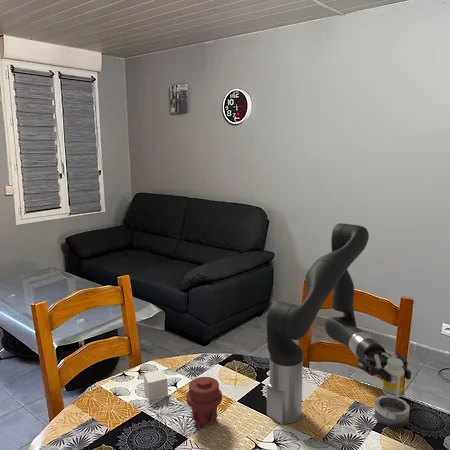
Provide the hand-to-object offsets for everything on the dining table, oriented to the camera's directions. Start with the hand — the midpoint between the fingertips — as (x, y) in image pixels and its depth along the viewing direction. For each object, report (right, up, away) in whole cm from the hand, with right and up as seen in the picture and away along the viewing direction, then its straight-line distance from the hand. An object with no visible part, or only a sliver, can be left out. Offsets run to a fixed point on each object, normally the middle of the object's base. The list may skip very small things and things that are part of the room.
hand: (399, 377), depth 114 cm
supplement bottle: (0, -6, +4) cm, 7 cm away
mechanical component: (-53, -14, +4) cm, 55 cm away
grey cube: (-69, -12, +18) cm, 73 cm away
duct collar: (0, -13, +5) cm, 14 cm away
